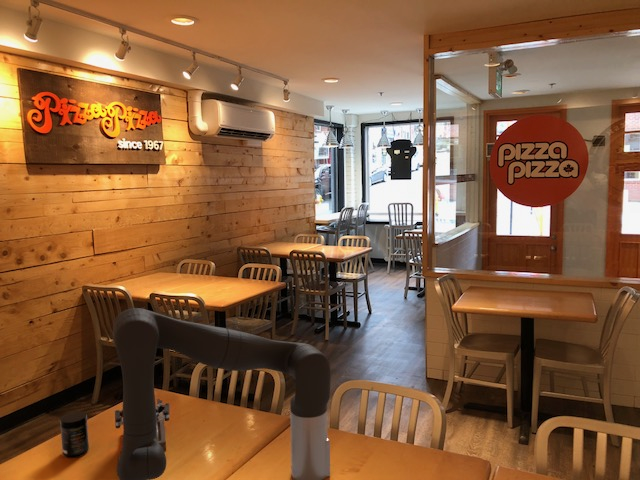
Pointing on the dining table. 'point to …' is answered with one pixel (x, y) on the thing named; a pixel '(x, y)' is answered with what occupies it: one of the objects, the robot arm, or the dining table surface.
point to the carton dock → (159, 434)
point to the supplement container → (74, 434)
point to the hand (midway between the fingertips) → (142, 404)
